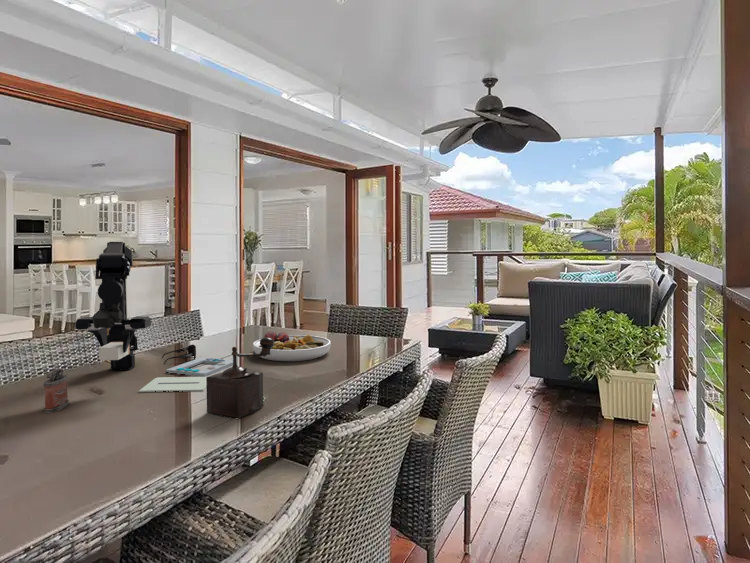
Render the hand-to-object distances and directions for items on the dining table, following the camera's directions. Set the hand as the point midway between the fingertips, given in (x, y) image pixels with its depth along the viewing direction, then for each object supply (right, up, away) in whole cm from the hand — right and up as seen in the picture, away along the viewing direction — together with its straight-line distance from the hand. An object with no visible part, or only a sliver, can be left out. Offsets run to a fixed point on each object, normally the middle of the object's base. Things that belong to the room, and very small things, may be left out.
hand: (114, 352), depth 139 cm
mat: (+15, -11, +8) cm, 20 cm away
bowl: (+42, -9, +52) cm, 67 cm away
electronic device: (+15, -11, +28) cm, 34 cm away
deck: (0, -1, 0) cm, 1 cm away
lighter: (-8, -13, -13) cm, 20 cm away
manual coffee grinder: (+40, -13, -12) cm, 44 cm away
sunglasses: (+2, -9, +40) cm, 42 cm away
